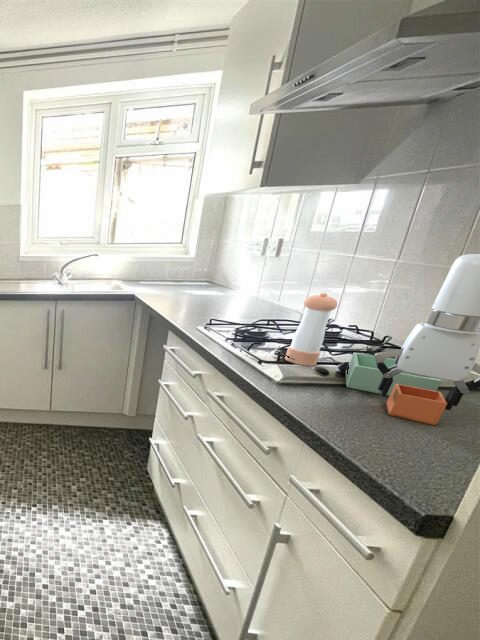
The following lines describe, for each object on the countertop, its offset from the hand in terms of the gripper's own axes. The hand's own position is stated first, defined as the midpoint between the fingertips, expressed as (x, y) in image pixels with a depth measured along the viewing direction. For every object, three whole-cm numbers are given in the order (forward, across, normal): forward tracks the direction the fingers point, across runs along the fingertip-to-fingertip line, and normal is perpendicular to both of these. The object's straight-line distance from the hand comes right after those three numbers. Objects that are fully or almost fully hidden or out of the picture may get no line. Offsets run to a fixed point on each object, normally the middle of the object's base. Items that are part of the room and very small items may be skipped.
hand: (413, 400), depth 87 cm
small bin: (+3, 0, 0) cm, 3 cm away
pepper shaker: (+4, +20, -25) cm, 32 cm away
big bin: (+3, +2, -16) cm, 17 cm away
